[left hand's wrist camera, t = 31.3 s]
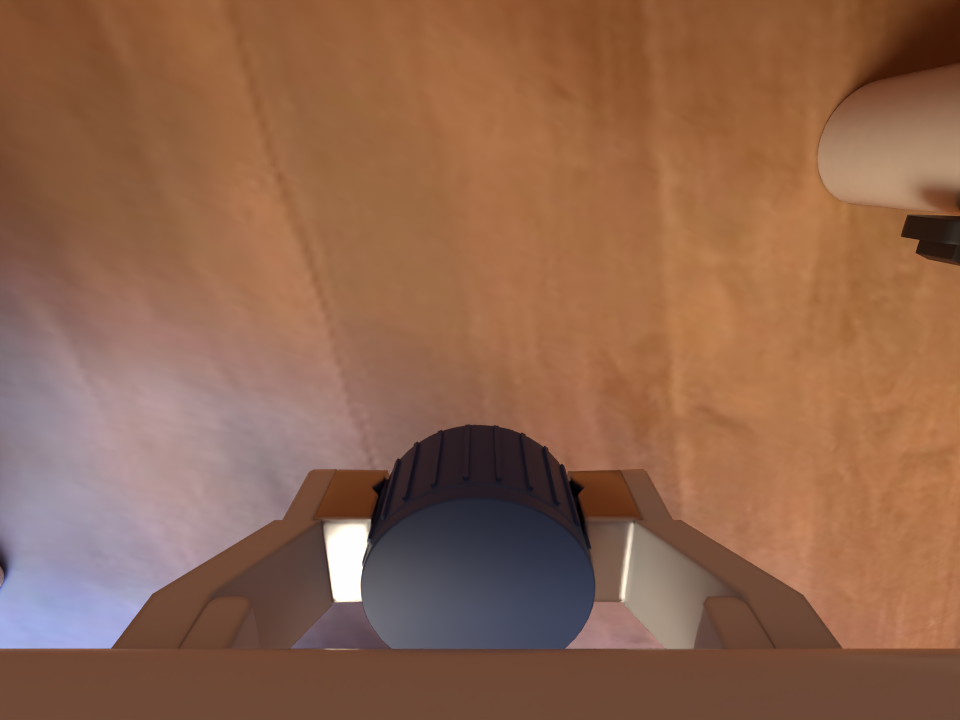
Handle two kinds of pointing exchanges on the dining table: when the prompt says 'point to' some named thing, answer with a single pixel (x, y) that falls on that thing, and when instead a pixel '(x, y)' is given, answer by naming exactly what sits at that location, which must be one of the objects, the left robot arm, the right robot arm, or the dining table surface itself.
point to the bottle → (897, 143)
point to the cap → (477, 547)
